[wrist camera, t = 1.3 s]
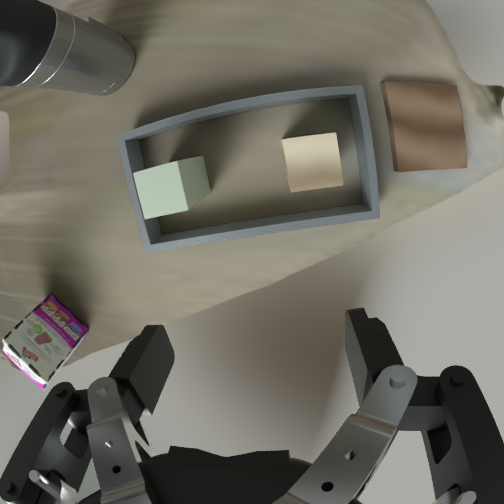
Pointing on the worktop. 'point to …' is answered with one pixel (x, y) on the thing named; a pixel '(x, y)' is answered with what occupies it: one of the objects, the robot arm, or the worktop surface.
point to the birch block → (312, 161)
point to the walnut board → (424, 126)
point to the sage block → (172, 187)
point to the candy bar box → (44, 340)
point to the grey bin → (268, 224)
